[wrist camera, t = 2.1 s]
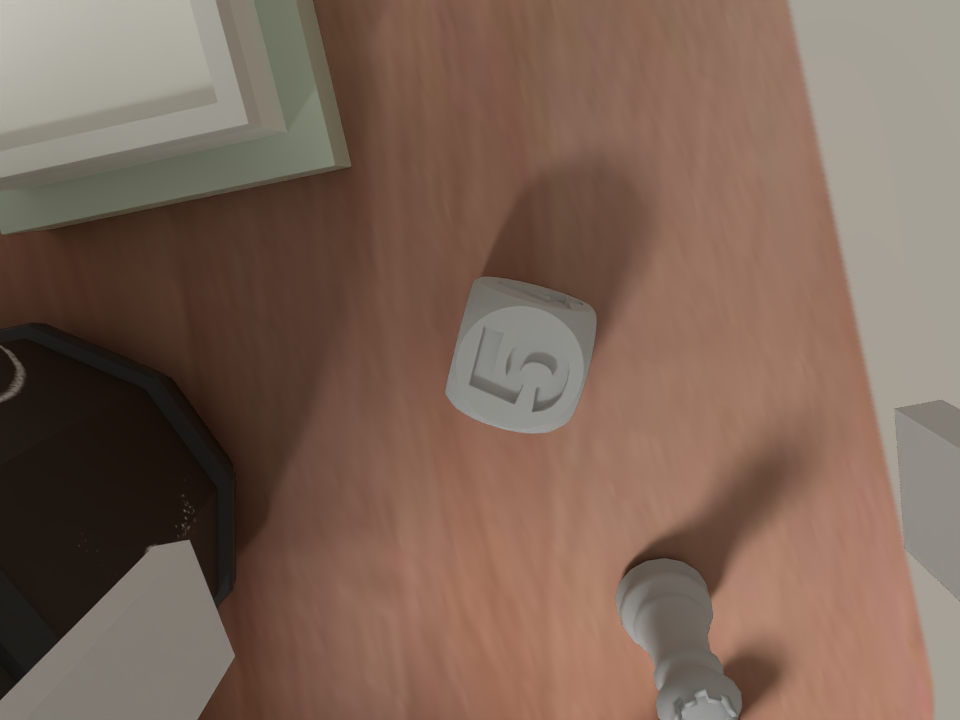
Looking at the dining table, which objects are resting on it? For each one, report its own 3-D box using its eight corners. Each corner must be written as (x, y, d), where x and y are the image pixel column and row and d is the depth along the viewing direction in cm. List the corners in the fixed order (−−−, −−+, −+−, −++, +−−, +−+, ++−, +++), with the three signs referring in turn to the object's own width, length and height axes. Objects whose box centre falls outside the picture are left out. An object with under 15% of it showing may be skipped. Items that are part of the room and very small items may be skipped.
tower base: (53, 229, 29) (-80, 242, 22) (-74, -127, 25) (-275, -233, 19) (353, 167, 27) (305, 162, 21) (264, -219, 24) (172, -368, 17)
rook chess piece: (600, 569, 31) (628, 694, 24) (689, 540, 31) (748, 659, 23) (631, 642, 32) (667, 785, 25) (717, 616, 32) (782, 754, 24)
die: (477, 269, 28) (469, 287, 23) (589, 298, 28) (604, 321, 23) (451, 376, 29) (438, 414, 24) (558, 403, 29) (566, 446, 25)
